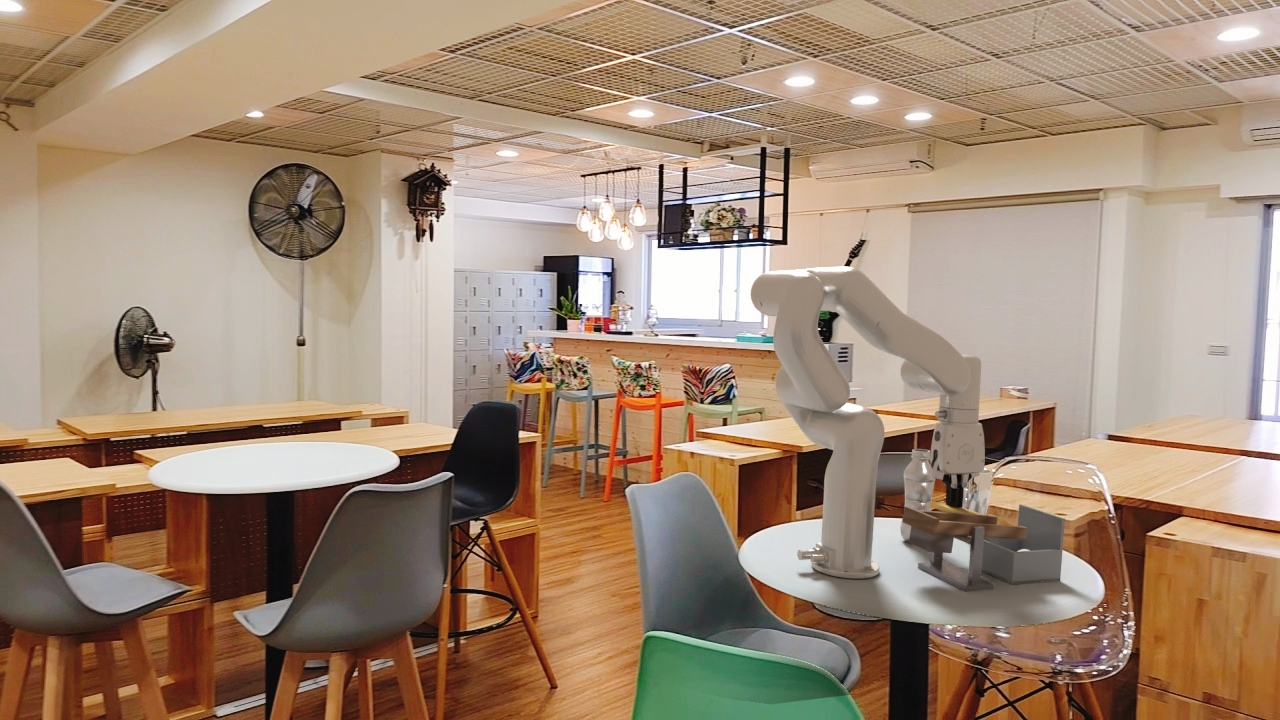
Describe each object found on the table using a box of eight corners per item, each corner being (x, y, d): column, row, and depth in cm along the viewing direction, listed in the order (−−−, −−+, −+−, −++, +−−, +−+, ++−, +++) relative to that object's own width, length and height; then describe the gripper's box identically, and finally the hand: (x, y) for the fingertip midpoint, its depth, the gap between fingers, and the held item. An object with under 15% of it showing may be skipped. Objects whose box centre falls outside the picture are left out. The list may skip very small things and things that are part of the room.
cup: (1011, 584, 162) (1016, 521, 161) (971, 566, 173) (975, 506, 172) (1060, 580, 166) (1064, 518, 165) (1017, 563, 176) (1021, 504, 175)
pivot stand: (965, 591, 157) (970, 530, 156) (917, 567, 170) (921, 511, 170) (993, 589, 159) (997, 528, 158) (943, 565, 172) (947, 509, 171)
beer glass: (952, 536, 194) (956, 470, 193) (956, 530, 201) (961, 465, 200) (985, 542, 191) (990, 474, 190) (989, 535, 197) (993, 469, 196)
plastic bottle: (928, 548, 185) (934, 454, 183) (896, 542, 188) (901, 450, 186) (934, 541, 190) (940, 450, 189) (903, 536, 193) (908, 446, 192)
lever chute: (929, 554, 157) (934, 518, 157) (869, 526, 175) (874, 494, 175) (1022, 559, 164) (1028, 525, 164) (956, 532, 182) (960, 501, 182)
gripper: (939, 419, 169) (934, 513, 171) (1002, 417, 174) (997, 508, 176) (915, 414, 177) (911, 503, 178) (976, 412, 181) (972, 499, 183)
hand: (954, 505), depth 177 cm, fingers closed
